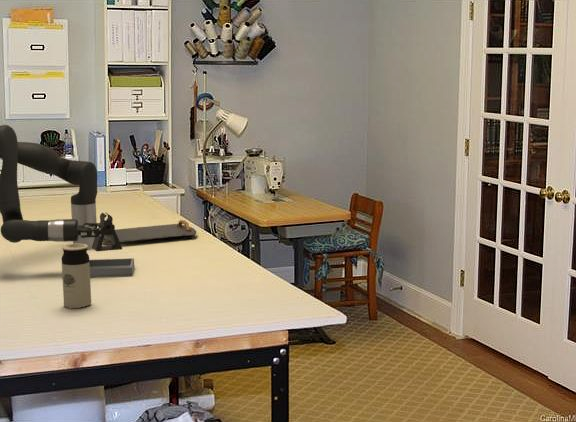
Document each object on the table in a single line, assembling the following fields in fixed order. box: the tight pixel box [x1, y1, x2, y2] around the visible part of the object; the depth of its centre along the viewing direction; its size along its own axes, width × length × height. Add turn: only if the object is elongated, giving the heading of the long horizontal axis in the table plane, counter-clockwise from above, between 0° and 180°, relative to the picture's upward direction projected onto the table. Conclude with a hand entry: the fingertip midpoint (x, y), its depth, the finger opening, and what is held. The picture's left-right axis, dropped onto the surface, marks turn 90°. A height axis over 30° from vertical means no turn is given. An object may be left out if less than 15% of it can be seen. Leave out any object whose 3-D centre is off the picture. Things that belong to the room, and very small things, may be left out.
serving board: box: [103, 219, 197, 243], centre depth 370 cm, size 39×23×6 cm, turn 116°
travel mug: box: [61, 243, 92, 309], centre depth 274 cm, size 8×8×18 cm
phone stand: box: [92, 212, 123, 252], centre depth 313 cm, size 9×6×12 cm, turn 113°
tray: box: [89, 257, 135, 279], centre depth 315 cm, size 14×17×3 cm
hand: (113, 229), depth 313 cm, fingers closed on phone stand, 6 cm apart
